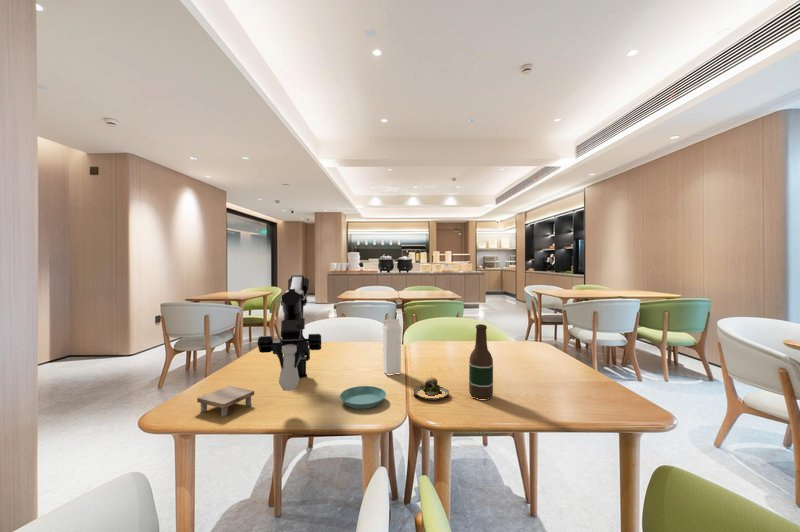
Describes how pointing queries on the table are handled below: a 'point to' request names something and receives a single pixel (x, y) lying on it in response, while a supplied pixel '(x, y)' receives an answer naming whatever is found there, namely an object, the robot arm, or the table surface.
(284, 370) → the salt shaker
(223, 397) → the small stand
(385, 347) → the milk
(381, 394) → the saucer
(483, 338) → the beer bottle
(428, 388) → the plate of food
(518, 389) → the table surface
